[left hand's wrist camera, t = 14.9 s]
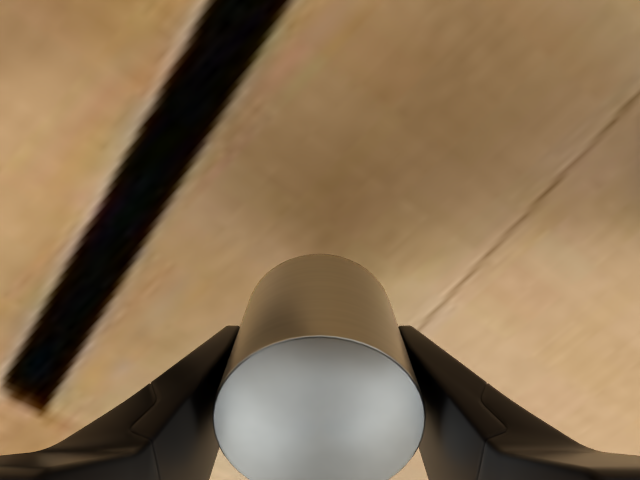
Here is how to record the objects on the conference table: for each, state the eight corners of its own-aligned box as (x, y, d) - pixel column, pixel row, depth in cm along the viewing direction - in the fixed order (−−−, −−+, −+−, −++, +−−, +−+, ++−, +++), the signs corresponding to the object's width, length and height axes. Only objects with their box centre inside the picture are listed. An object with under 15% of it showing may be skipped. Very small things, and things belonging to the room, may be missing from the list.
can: (223, 341, 13) (177, 454, 9) (291, 226, 12) (274, 297, 7) (342, 397, 14) (352, 524, 10) (419, 297, 12) (470, 396, 8)
